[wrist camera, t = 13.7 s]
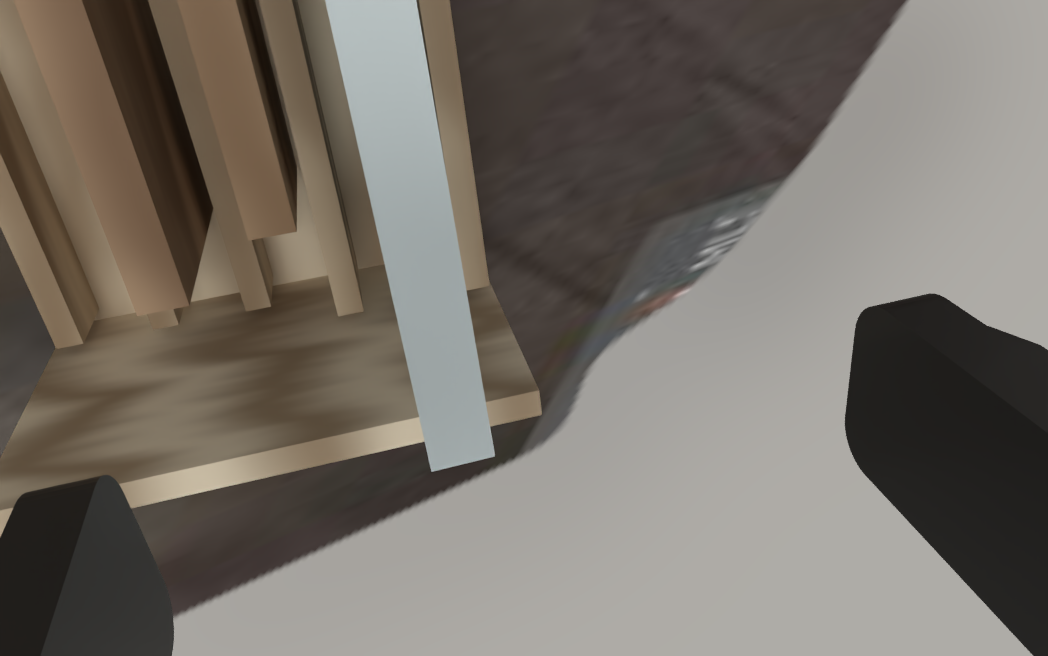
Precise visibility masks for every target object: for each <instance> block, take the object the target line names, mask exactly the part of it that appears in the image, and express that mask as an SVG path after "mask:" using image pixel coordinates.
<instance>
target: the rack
mask: <svg viewBox="0 0 1048 656" xmlns="http://www.w3.org/2000/svg"><path fill="white" fill-rule="evenodd" d="M148 2H149V5H150V8H151V11H152V14H153V18H154V21H155V24H156V27H157V30H158V34H159V37H160V40H161V43H162V46H163V49H164V53H165V56H166V59H167V62H168V65H169V69H170V72H171V75H172V78H173V81H174V84H175V88H176V91H177V94H178V97H179V100H180V104H181V107H182V110H183V113H184V116H185V119H186V123H187V126H188V129H189V132H190V135H191V139H192V142H193V145H194V148H195V151H196V154H197V158H198V161H199V164H200V167H201V170H202V174H203V177H204V180H205V183H206V186H207V189H208V193H209V196H210V199H211V202H212V205H213V212H212V216H211V220H210V224H209V228H208V233H207V237H206V241H205V245H204V249H203V253H202V257H201V261H200V265H199V269H198V273H197V277H196V281H195V286H194V290H193V294H192V298H191V302H190V306H186V307H181V308H176V309H171V310H166V311H160V312H155V313H150V314H145V315H140V316H137V315H136V312H135V309H134V307H133V304H132V302H131V299H130V297H129V294H128V292H127V289H126V286H125V284H124V281H123V279H122V276H121V274H120V271H119V269H118V266H117V264H116V261H115V258H114V256H113V253H112V251H111V248H110V246H109V243H108V241H107V238H106V235H105V233H104V230H103V228H102V225H101V223H100V220H99V218H98V215H97V212H96V210H95V207H94V205H93V202H92V200H91V197H90V195H89V192H88V190H87V187H86V184H85V182H84V179H83V177H82V174H81V172H80V169H79V167H78V164H77V161H76V159H75V156H74V154H73V151H72V149H71V146H70V144H69V141H68V139H67V136H66V133H65V131H64V128H63V126H62V123H61V121H60V118H59V116H58V113H57V110H56V108H55V105H54V103H53V100H52V98H51V95H50V93H49V90H48V87H47V85H46V82H45V80H44V77H43V75H42V72H41V70H40V67H39V65H38V62H37V59H36V57H35V54H34V52H33V49H32V47H31V44H30V42H29V39H28V36H27V34H26V31H25V29H24V26H23V24H22V21H21V19H20V16H19V13H18V11H17V8H16V6H15V3H14V1H13V0H0V227H1V229H2V231H3V234H4V236H5V238H6V240H7V242H8V244H9V247H10V249H11V251H12V253H13V255H14V257H15V260H16V262H17V264H18V266H19V268H20V271H21V273H22V275H23V277H24V279H25V281H26V284H27V286H28V288H29V290H30V292H31V294H32V297H33V299H34V301H35V303H36V305H37V308H38V310H39V312H40V314H41V316H42V318H43V321H44V323H45V325H46V327H47V329H48V331H49V334H50V336H51V338H52V340H53V342H54V345H55V347H56V348H55V350H54V352H53V354H52V356H51V358H50V360H49V362H48V364H47V366H46V368H45V370H44V372H43V374H42V376H41V378H40V380H39V382H38V384H37V386H36V388H35V390H34V392H33V394H32V396H31V398H30V400H29V402H28V404H27V406H26V408H25V410H24V412H23V414H22V416H21V418H20V420H19V422H18V424H17V426H16V428H15V430H14V432H13V434H12V436H11V438H10V440H9V442H8V444H7V446H6V448H5V450H4V452H3V454H2V456H1V458H0V537H1V535H2V533H3V530H4V528H5V526H6V523H7V521H8V519H9V517H10V514H11V512H12V510H13V507H14V505H15V503H16V501H17V500H18V498H19V497H20V496H21V495H22V494H24V493H26V492H30V491H35V490H39V489H44V488H48V487H53V486H57V485H62V484H66V483H71V482H75V481H80V480H84V479H89V478H93V477H98V476H102V475H110V476H111V477H113V478H114V479H115V480H116V481H117V482H118V484H119V485H120V487H121V488H122V490H123V492H124V494H125V497H126V499H127V501H128V503H129V505H130V507H131V508H135V507H139V506H143V505H148V504H152V503H157V502H161V501H165V500H170V499H174V498H179V497H183V496H187V495H192V494H196V493H200V492H205V491H209V490H214V489H218V488H222V487H227V486H231V485H236V484H240V483H244V482H249V481H253V480H258V479H262V478H266V477H271V476H275V475H280V474H284V473H288V472H293V471H297V470H302V469H306V468H310V467H315V466H319V465H324V464H328V463H332V462H337V461H341V460H345V459H350V458H354V457H359V456H363V455H367V454H372V453H376V452H381V451H385V450H389V449H394V448H398V447H403V446H407V445H411V444H416V443H420V442H425V441H424V436H423V432H422V428H421V423H420V419H419V414H418V410H417V405H416V401H415V396H414V392H413V388H412V383H411V379H410V374H409V370H408V365H407V361H406V357H405V352H404V348H403V343H402V339H401V334H400V330H399V326H398V321H397V317H396V312H395V308H394V303H393V299H392V295H391V290H390V286H389V281H388V277H387V272H386V268H385V264H384V259H383V255H382V250H381V246H380V241H379V237H378V233H377V228H376V224H375V219H374V215H373V210H372V206H371V202H370V197H369V193H368V188H367V184H366V179H365V175H364V171H363V166H362V162H361V157H360V153H359V148H358V144H357V140H356V135H355V131H354V126H353V122H352V117H351V113H350V109H349V104H348V100H347V95H346V91H345V86H344V82H343V78H342V73H341V69H340V64H339V60H338V55H337V51H336V47H335V42H334V38H333V33H332V29H331V24H330V20H329V16H328V11H327V7H326V2H325V0H255V3H256V7H257V11H258V15H259V19H260V23H261V27H262V30H263V34H264V38H265V42H266V46H267V50H268V54H269V58H270V62H271V66H272V70H273V74H274V78H275V82H276V86H277V90H278V94H279V98H280V102H281V106H282V110H283V114H284V117H285V121H286V125H287V129H288V133H289V137H290V141H291V145H292V149H293V153H294V157H295V161H296V165H297V232H293V233H287V234H282V235H277V236H271V237H266V238H261V239H255V240H250V241H248V237H247V234H246V231H245V227H244V224H243V221H242V217H241V214H240V211H239V207H238V204H237V200H236V197H235V194H234V190H233V187H232V184H231V180H230V177H229V174H228V170H227V167H226V164H225V160H224V157H223V153H222V150H221V147H220V143H219V140H218V137H217V133H216V130H215V127H214V123H213V120H212V117H211V113H210V110H209V106H208V103H207V100H206V96H205V93H204V90H203V86H202V83H201V80H200V76H199V73H198V70H197V66H196V63H195V59H194V56H193V53H192V49H191V46H190V43H189V39H188V36H187V33H186V29H185V26H184V23H183V19H182V16H181V12H180V9H179V6H178V2H177V0H148ZM416 2H417V8H418V13H419V19H420V25H421V31H422V37H423V42H424V48H425V54H426V60H427V65H428V71H429V77H430V83H431V89H432V94H433V100H434V106H435V112H436V118H437V123H438V129H439V135H440V141H441V146H442V152H443V158H444V164H445V170H446V175H447V181H448V187H449V193H450V198H451V204H452V210H453V216H454V222H455V227H456V233H457V239H458V245H459V251H460V256H461V262H462V268H463V274H464V279H465V285H466V291H467V297H468V303H469V308H470V314H471V320H472V326H473V331H474V337H475V343H476V349H477V355H478V360H479V366H480V372H481V378H482V384H483V389H484V395H485V401H486V407H487V412H488V418H489V424H490V426H495V425H499V424H504V423H508V422H512V421H517V420H521V419H526V418H530V417H534V416H539V415H542V411H541V403H540V394H539V389H538V387H537V385H536V382H535V380H534V378H533V376H532V374H531V372H530V369H529V367H528V365H527V363H526V361H525V358H524V356H523V354H522V352H521V350H520V347H519V345H518V343H517V341H516V339H515V336H514V334H513V332H512V330H511V328H510V325H509V323H508V321H507V319H506V317H505V314H504V312H503V310H502V308H501V306H500V303H499V301H498V299H497V297H496V295H495V292H494V290H493V288H492V286H491V284H490V281H489V278H488V270H487V263H486V256H485V249H484V242H483V235H482V228H481V221H480V214H479V207H478V199H477V192H476V185H475V178H474V171H473V164H472V157H471V150H470V143H469V136H468V128H467V121H466V114H465V107H464V100H463V93H462V86H461V79H460V72H459V64H458V57H457V50H456V43H455V36H454V29H453V22H452V15H451V8H450V1H449V0H416Z"/></svg>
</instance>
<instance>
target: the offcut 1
mask: <svg viewBox="0 0 1048 656" xmlns="http://www.w3.org/2000/svg"><path fill="white" fill-rule="evenodd" d="M13 1H14V3H15V6H16V8H17V11H18V13H19V16H20V19H21V21H22V24H23V26H24V29H25V31H26V34H27V36H28V39H29V42H30V44H31V47H32V49H33V52H34V54H35V57H36V59H37V62H38V65H39V67H40V70H41V72H42V75H43V77H44V80H45V82H46V85H47V87H48V90H49V93H50V95H51V98H52V100H53V103H54V105H55V108H56V110H57V113H58V116H59V118H60V121H61V123H62V126H63V128H64V131H65V133H66V136H67V139H68V141H69V144H70V146H71V149H72V151H73V154H74V156H75V159H76V161H77V164H78V167H79V169H80V172H81V174H82V177H83V179H84V182H85V184H86V187H87V190H88V192H89V195H90V197H91V200H92V202H93V205H94V207H95V210H96V212H97V215H98V218H99V220H100V223H101V225H102V228H103V230H104V233H105V235H106V238H107V241H108V243H109V246H110V248H111V251H112V253H113V256H114V258H115V261H116V264H117V266H118V269H119V271H120V274H121V276H122V279H123V281H124V284H125V286H126V289H127V292H128V294H129V297H130V299H131V302H132V304H133V307H134V309H135V312H136V315H137V316H140V315H145V314H150V313H155V312H160V311H166V310H171V309H176V308H181V307H186V306H190V302H191V298H192V294H193V290H194V286H195V281H196V277H197V273H198V269H199V265H200V261H201V257H202V253H203V249H204V245H205V241H206V237H207V233H208V228H209V224H210V220H211V216H212V212H213V205H212V202H211V199H210V196H209V193H208V189H207V186H206V183H205V180H204V177H203V174H202V170H201V167H200V164H199V161H198V158H197V154H196V151H195V148H194V145H193V142H192V139H191V135H190V132H189V129H188V126H187V123H186V119H185V116H184V113H183V110H182V107H181V104H180V100H179V97H178V94H177V91H176V88H175V84H174V81H173V78H172V75H171V72H170V69H169V65H168V62H167V59H166V56H165V53H164V49H163V46H162V43H161V40H160V37H159V34H158V30H157V27H156V24H155V21H154V18H153V14H152V11H151V8H150V5H149V2H148V0H13Z"/></svg>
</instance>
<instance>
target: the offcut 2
mask: <svg viewBox="0 0 1048 656" xmlns="http://www.w3.org/2000/svg"><path fill="white" fill-rule="evenodd" d="M177 2H178V6H179V9H180V12H181V16H182V19H183V23H184V26H185V29H186V33H187V36H188V39H189V43H190V46H191V49H192V53H193V56H194V59H195V63H196V66H197V70H198V73H199V76H200V80H201V83H202V86H203V90H204V93H205V96H206V100H207V103H208V106H209V110H210V113H211V117H212V120H213V123H214V127H215V130H216V133H217V137H218V140H219V143H220V147H221V150H222V153H223V157H224V160H225V164H226V167H227V170H228V174H229V177H230V180H231V184H232V187H233V190H234V194H235V197H236V200H237V204H238V207H239V211H240V214H241V217H242V221H243V224H244V227H245V231H246V234H247V237H248V241H250V240H255V239H261V238H266V237H271V236H277V235H282V234H287V233H293V232H297V165H296V161H295V157H294V153H293V149H292V145H291V141H290V137H289V133H288V129H287V125H286V121H285V117H284V114H283V110H282V106H281V102H280V98H279V94H278V90H277V86H276V82H275V78H274V74H273V70H272V66H271V62H270V58H269V54H268V50H267V46H266V42H265V38H264V34H263V30H262V27H261V23H260V19H259V15H258V11H257V7H256V3H255V0H177Z"/></svg>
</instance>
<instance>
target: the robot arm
mask: <svg viewBox="0 0 1048 656" xmlns="http://www.w3.org/2000/svg"><path fill="white" fill-rule="evenodd" d="M845 430H846V436H847V440H848V444H849V447H850V450H851V452H852V455H853V457H854V459H855V461H856V462H857V465H858V466H859V468H860V469H861V470H862V472H863V473H864V474H865V475H866V476H867V477H868V478H869V480H870V481H872V482H873V484H874V485H875V486H876V487H877V488H878V489H879V490H880V491H881V492H882V493H883V495H884V496H885V497H886V498H887V499H888V500H889V501H890V502H891V503H892V504H893V505H894V506H895V507H896V508H897V509H898V511H899V512H900V513H901V514H902V515H903V516H904V517H905V518H906V519H907V520H908V521H909V523H910V524H911V525H912V526H913V527H914V528H915V529H916V530H917V531H918V532H919V533H920V534H921V535H922V536H923V538H925V540H926V541H927V542H928V543H929V544H930V545H931V546H932V547H933V548H934V549H935V550H936V551H937V553H938V554H939V555H940V556H941V557H942V558H943V559H944V560H945V561H946V562H947V563H948V564H949V565H950V567H951V568H952V569H953V570H954V571H955V572H956V573H957V574H958V575H959V576H960V577H961V578H962V579H963V581H964V582H965V583H966V584H967V585H968V586H969V587H970V588H971V589H972V590H973V591H974V592H975V593H976V595H977V596H978V597H979V598H980V599H981V600H982V601H983V602H984V603H985V604H986V605H987V606H988V607H989V608H990V610H991V611H992V612H993V613H994V614H995V615H996V616H997V617H998V618H999V619H1000V620H1001V621H1002V622H1003V624H1004V625H1006V627H1007V628H1008V629H1009V630H1010V631H1011V632H1012V633H1013V634H1014V635H1015V636H1016V637H1017V638H1018V639H1019V641H1020V642H1021V643H1022V644H1023V645H1024V646H1025V647H1026V648H1027V649H1028V650H1029V651H1030V653H1032V655H1033V656H1048V350H1047V349H1045V348H1044V347H1042V346H1041V345H1038V344H1036V343H1033V342H1030V341H1028V340H1025V339H1022V338H1019V337H1017V336H1014V335H1011V334H1008V333H1006V332H1003V331H1000V330H998V329H995V328H992V327H989V326H986V325H985V324H983V323H982V322H980V321H979V320H977V319H976V318H974V317H973V316H971V315H970V314H968V313H967V312H965V311H964V310H962V309H961V308H959V307H958V306H956V305H955V304H953V303H952V302H951V301H949V300H947V299H946V298H944V297H942V296H940V295H937V294H926V295H921V296H917V297H912V298H908V299H903V300H899V301H895V302H890V303H886V304H881V305H877V306H872V307H868V308H867V309H865V310H863V312H862V313H861V314H860V316H859V318H858V320H857V323H856V328H855V336H854V344H853V353H852V362H851V372H850V379H849V388H848V398H847V406H846V414H845ZM173 641H174V626H173V614H172V607H171V602H170V598H169V594H168V590H167V587H166V585H165V582H164V580H163V577H162V575H161V573H160V571H159V569H158V567H157V564H156V562H155V560H154V558H153V556H152V553H151V551H150V549H149V547H148V545H147V542H146V540H145V538H144V536H143V534H142V532H141V529H140V527H139V525H138V523H137V521H136V518H135V516H134V514H133V512H132V510H131V507H130V505H129V503H128V501H127V499H126V497H125V494H124V492H123V490H122V488H121V487H120V485H119V484H118V482H117V481H116V480H115V479H114V478H113V477H111V476H110V475H102V476H98V477H93V478H89V479H84V480H80V481H75V482H71V483H66V484H62V485H57V486H53V487H48V488H44V489H39V490H35V491H30V492H26V493H24V494H22V495H21V496H20V497H19V498H18V500H17V501H16V503H15V505H14V507H13V510H12V512H11V514H10V517H9V519H8V521H7V523H6V526H5V528H4V530H3V533H2V535H1V537H0V656H172V650H173Z"/></svg>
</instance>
